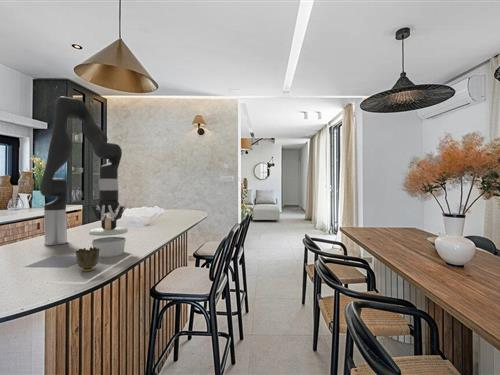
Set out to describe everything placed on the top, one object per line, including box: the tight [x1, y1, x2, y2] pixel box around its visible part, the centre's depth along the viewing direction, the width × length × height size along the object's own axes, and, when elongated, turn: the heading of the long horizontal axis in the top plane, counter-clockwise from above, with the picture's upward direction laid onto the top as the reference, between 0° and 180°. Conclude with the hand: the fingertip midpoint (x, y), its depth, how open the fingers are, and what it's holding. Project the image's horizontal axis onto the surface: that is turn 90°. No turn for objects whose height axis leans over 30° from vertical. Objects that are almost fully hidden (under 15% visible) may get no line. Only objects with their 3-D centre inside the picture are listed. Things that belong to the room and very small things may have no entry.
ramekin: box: [91, 236, 126, 258], centre depth 130 cm, size 13×13×7 cm
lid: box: [88, 217, 129, 237], centre depth 130 cm, size 15×15×6 cm
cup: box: [75, 246, 100, 273], centre depth 106 cm, size 8×7×8 cm
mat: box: [24, 255, 78, 269], centre depth 118 cm, size 16×16×1 cm
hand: (108, 228), depth 130 cm, fingers closed on lid, 3 cm apart
